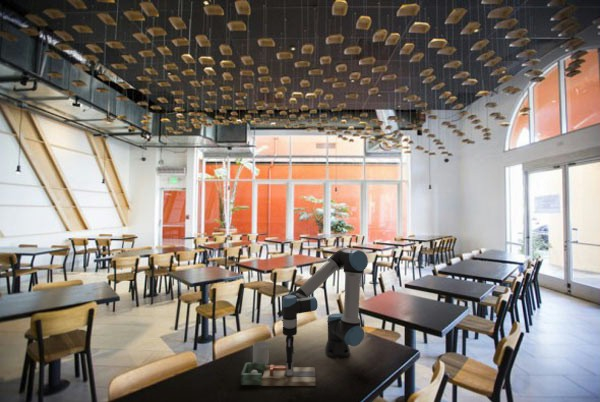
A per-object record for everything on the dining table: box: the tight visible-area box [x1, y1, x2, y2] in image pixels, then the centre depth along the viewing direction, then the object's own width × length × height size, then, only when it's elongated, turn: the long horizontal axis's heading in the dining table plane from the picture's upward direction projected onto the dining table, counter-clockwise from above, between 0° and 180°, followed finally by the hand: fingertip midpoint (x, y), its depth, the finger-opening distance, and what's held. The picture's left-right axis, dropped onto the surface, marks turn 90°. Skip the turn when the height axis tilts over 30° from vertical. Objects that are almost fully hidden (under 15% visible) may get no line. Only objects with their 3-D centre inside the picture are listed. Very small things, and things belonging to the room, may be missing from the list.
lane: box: [240, 361, 317, 387], centre depth 152 cm, size 38×14×5 cm, turn 89°
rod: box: [270, 345, 295, 376], centre depth 152 cm, size 12×5×14 cm, turn 89°
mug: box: [252, 341, 270, 365], centre depth 168 cm, size 12×9×11 cm
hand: (290, 371), depth 152 cm, fingers open, 7 cm apart
